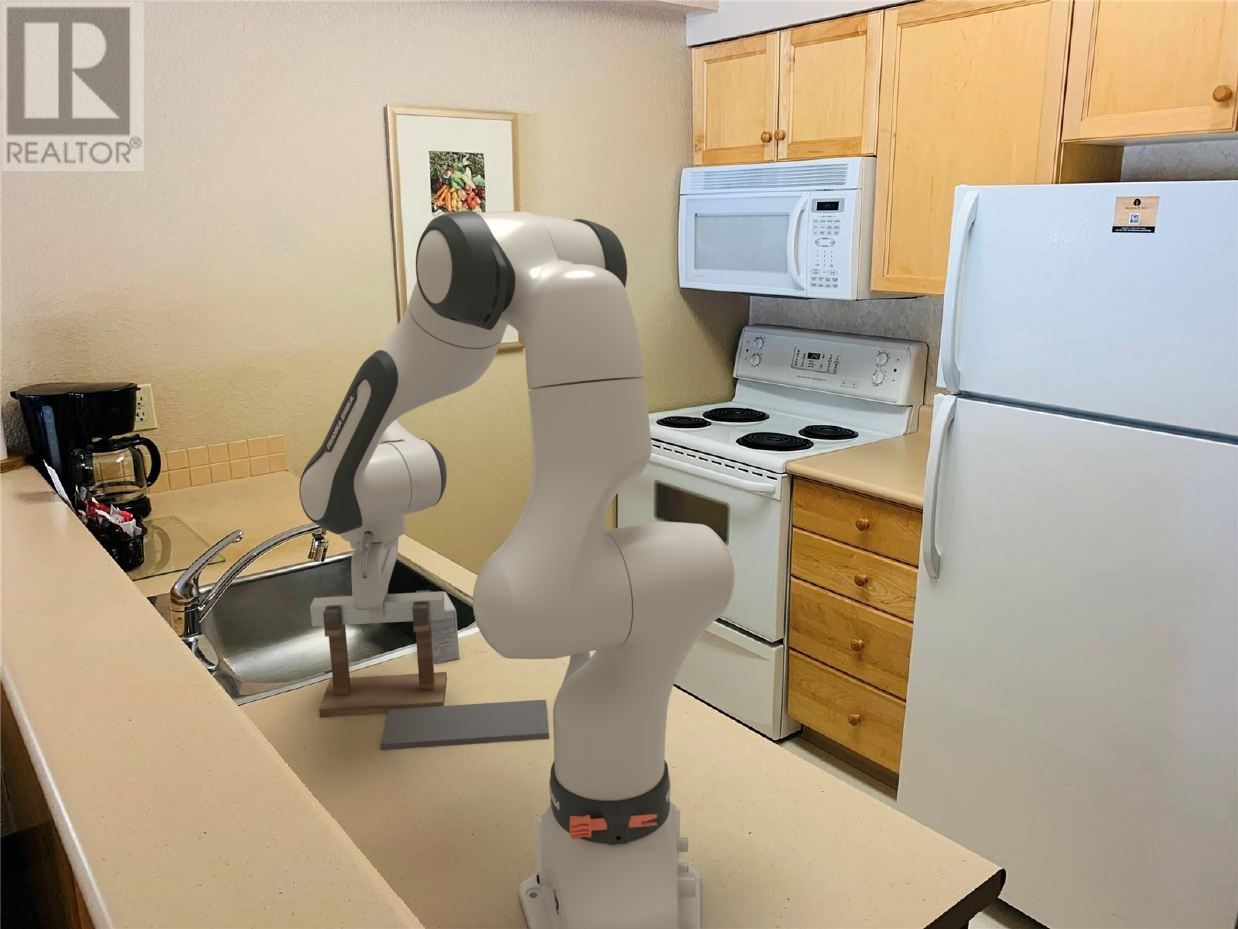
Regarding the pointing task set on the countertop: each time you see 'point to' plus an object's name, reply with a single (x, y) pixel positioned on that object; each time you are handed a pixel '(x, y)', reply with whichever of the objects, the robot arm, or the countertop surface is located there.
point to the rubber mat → (465, 724)
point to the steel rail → (394, 606)
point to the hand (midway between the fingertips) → (379, 614)
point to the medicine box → (445, 634)
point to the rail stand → (381, 690)
